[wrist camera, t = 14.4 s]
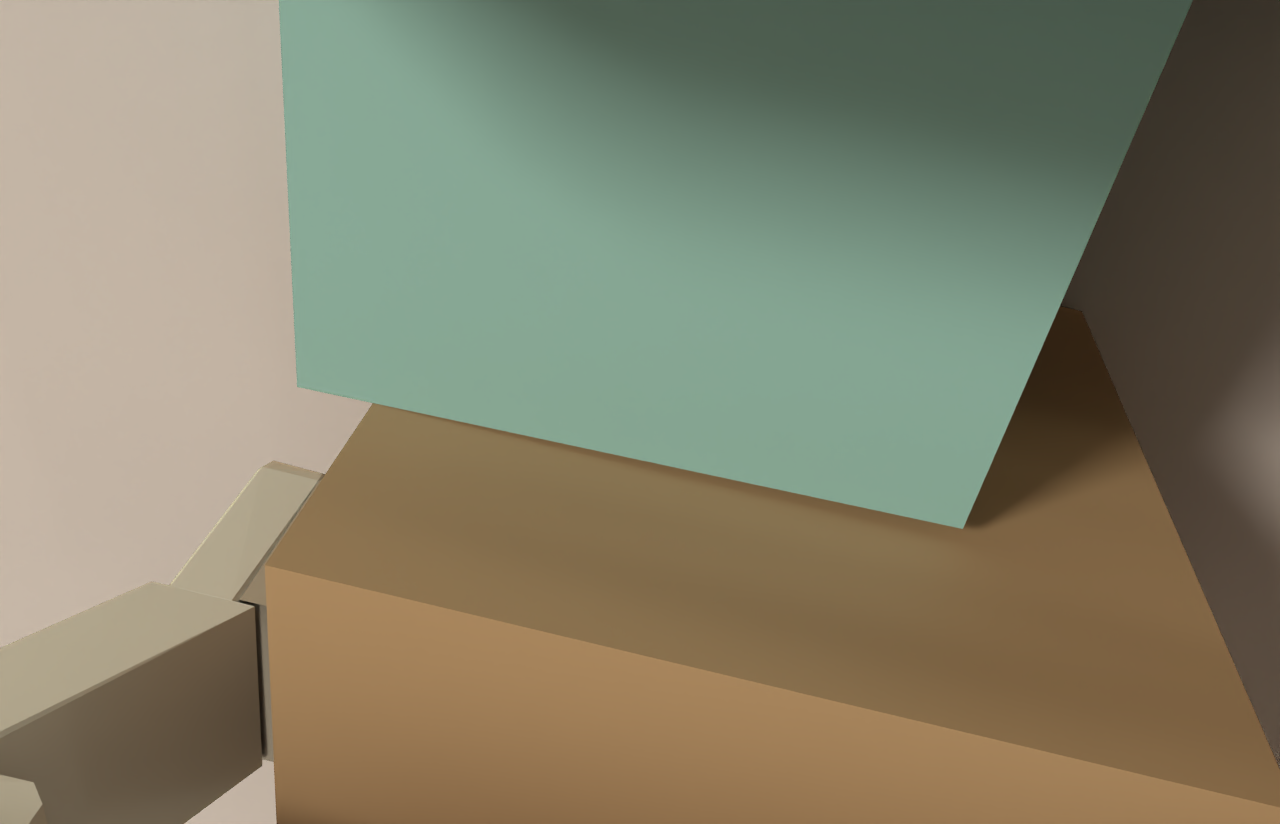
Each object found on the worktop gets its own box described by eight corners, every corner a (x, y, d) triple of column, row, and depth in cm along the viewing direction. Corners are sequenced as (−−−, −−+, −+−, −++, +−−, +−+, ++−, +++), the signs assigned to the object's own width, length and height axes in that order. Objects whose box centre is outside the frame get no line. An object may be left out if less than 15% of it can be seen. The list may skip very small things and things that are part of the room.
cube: (520, 182, 9) (263, 566, 5) (1080, 311, 9) (1297, 812, 5) (474, 587, 12) (288, 1045, 8) (900, 689, 12) (938, 1207, 8)
